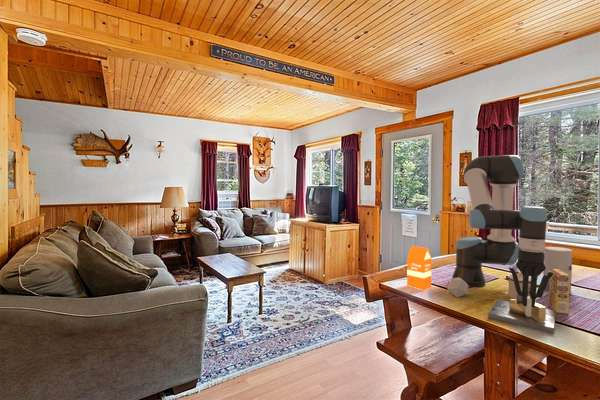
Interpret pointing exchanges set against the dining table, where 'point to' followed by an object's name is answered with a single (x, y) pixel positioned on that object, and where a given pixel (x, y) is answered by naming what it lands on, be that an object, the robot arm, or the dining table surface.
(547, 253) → the container
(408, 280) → the orange juice
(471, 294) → the dining table surface
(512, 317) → the flange plate
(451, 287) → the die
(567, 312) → the candy box
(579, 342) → the dining table surface
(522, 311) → the beige lumpy block
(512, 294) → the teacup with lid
